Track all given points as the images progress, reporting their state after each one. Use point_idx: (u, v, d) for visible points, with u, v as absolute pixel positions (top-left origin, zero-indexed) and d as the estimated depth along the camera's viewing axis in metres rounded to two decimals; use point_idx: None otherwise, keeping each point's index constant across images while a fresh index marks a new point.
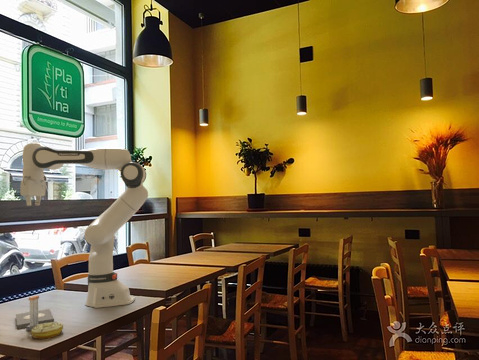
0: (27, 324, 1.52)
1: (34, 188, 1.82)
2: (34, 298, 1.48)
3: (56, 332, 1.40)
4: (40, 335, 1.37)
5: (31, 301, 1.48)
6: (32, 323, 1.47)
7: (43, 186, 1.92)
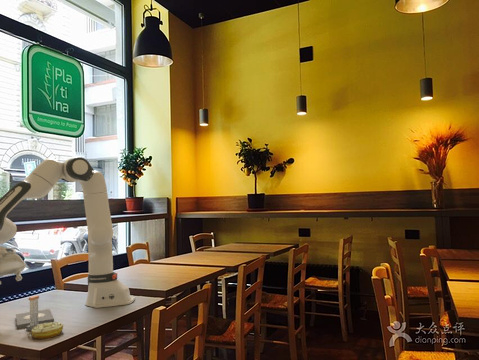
0: (27, 324, 1.52)
1: None
2: (34, 298, 1.48)
3: (56, 332, 1.40)
4: (40, 335, 1.37)
5: (31, 301, 1.48)
6: (32, 323, 1.47)
7: (16, 258, 1.63)
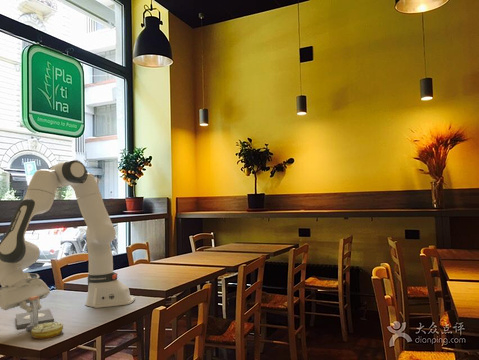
0: (27, 324, 1.52)
1: (19, 293, 1.48)
2: (34, 298, 1.48)
3: (56, 332, 1.40)
4: (40, 335, 1.37)
5: (31, 301, 1.48)
6: (32, 323, 1.47)
7: (40, 284, 1.58)
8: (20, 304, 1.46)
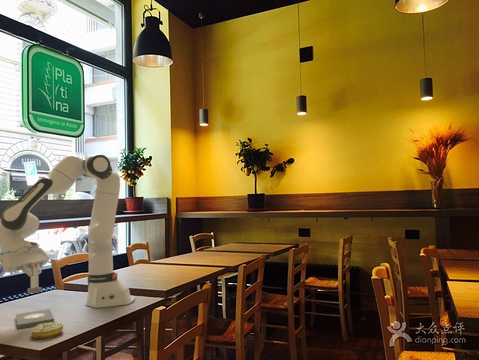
0: (27, 324, 1.52)
1: (20, 258, 1.59)
2: (34, 263, 1.60)
3: (56, 332, 1.40)
4: (40, 335, 1.37)
5: (32, 265, 1.60)
6: (33, 286, 1.59)
7: (40, 252, 1.70)
8: (22, 268, 1.58)
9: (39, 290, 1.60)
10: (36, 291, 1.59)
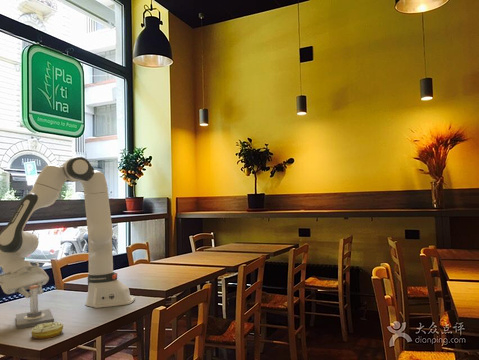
0: (27, 324, 1.52)
1: (20, 279, 1.60)
2: (34, 287, 1.61)
3: (56, 332, 1.40)
4: (40, 335, 1.37)
5: (31, 290, 1.60)
6: (32, 310, 1.60)
7: (40, 272, 1.71)
8: (19, 290, 1.58)
9: (39, 314, 1.61)
10: (35, 316, 1.59)
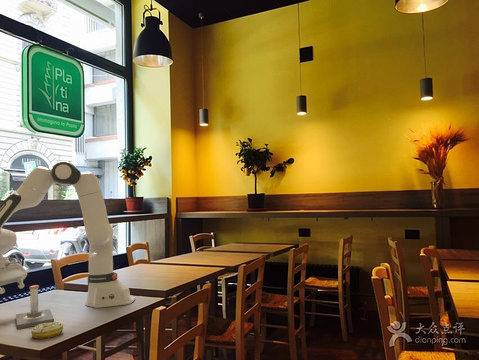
0: (27, 324, 1.52)
1: None
2: (34, 287, 1.61)
3: (56, 332, 1.40)
4: (40, 335, 1.37)
5: (32, 290, 1.60)
6: (32, 310, 1.60)
7: (18, 267, 1.75)
8: None
9: (39, 314, 1.61)
10: (35, 316, 1.59)
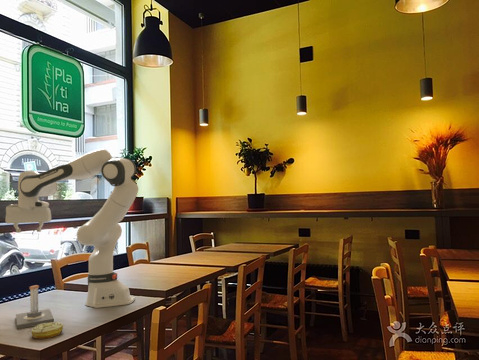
0: (27, 324, 1.52)
1: (20, 216, 1.86)
2: (34, 287, 1.61)
3: (56, 332, 1.40)
4: (40, 335, 1.37)
5: (32, 290, 1.60)
6: (32, 310, 1.60)
7: (43, 212, 1.88)
8: None
9: (39, 314, 1.61)
10: (35, 316, 1.59)
